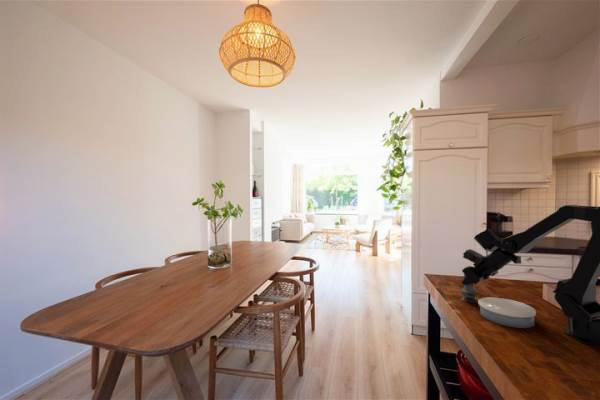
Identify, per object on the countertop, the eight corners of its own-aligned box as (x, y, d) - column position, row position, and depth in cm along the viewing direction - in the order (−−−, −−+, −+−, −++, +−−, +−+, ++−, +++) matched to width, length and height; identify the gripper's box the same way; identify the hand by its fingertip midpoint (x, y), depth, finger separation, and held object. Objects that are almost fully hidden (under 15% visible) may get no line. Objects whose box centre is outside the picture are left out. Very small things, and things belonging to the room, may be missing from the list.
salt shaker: (461, 301, 96) (460, 271, 96) (459, 296, 101) (458, 268, 101) (479, 303, 93) (478, 273, 93) (476, 298, 98) (475, 269, 99)
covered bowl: (550, 329, 73) (549, 316, 73) (495, 327, 76) (495, 314, 76) (514, 308, 88) (514, 297, 88) (470, 307, 90) (469, 296, 90)
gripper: (487, 241, 100) (459, 262, 108) (466, 246, 89) (438, 270, 98) (512, 263, 93) (480, 284, 102) (493, 272, 83) (460, 295, 92)
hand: (464, 282), depth 98 cm, fingers closed on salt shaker, 4 cm apart
